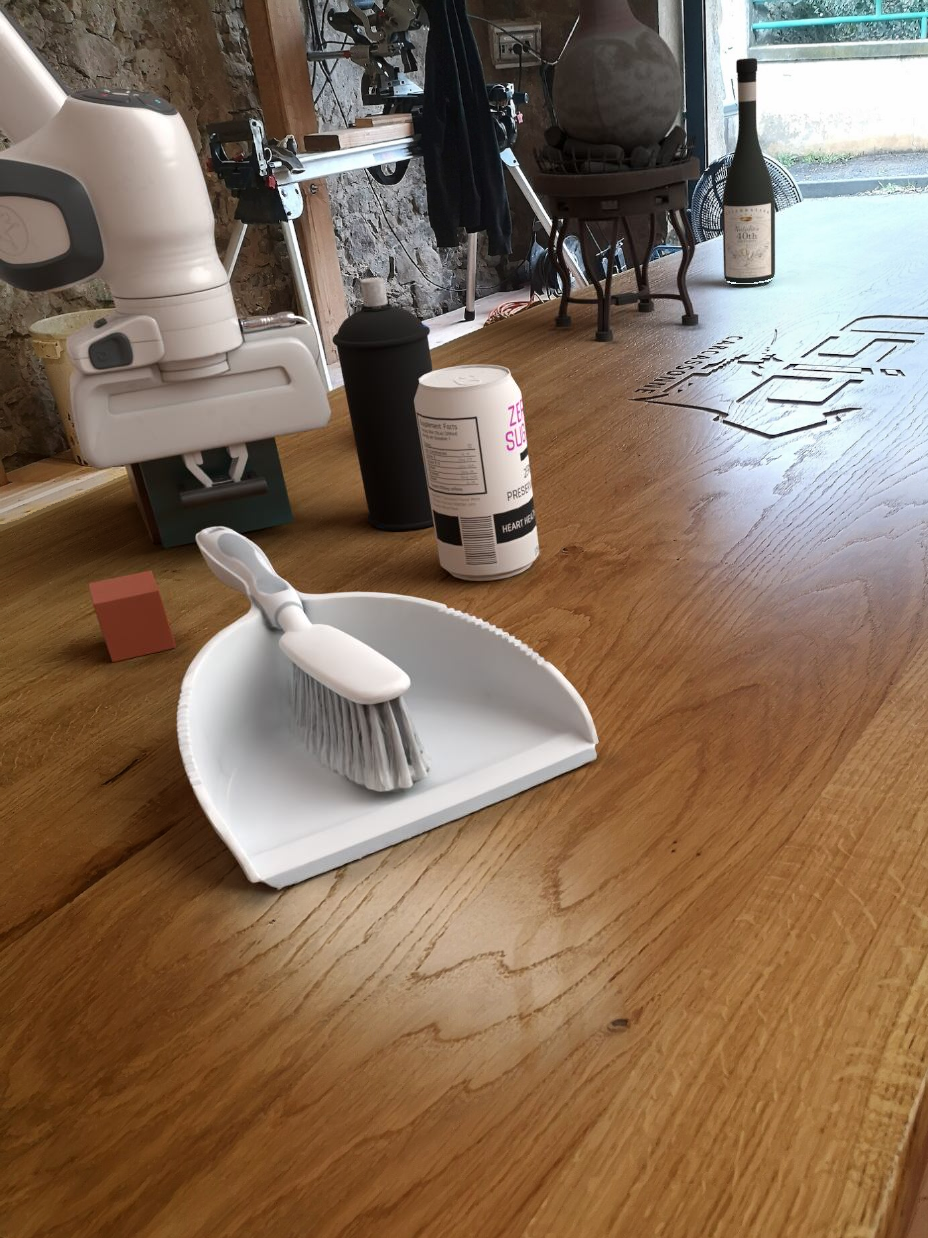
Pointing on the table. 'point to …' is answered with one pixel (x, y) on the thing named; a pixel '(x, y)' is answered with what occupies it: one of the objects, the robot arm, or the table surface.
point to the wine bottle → (748, 195)
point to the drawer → (217, 494)
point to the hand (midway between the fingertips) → (226, 499)
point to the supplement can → (477, 471)
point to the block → (131, 616)
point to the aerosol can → (386, 406)
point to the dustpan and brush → (359, 719)
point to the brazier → (616, 150)
